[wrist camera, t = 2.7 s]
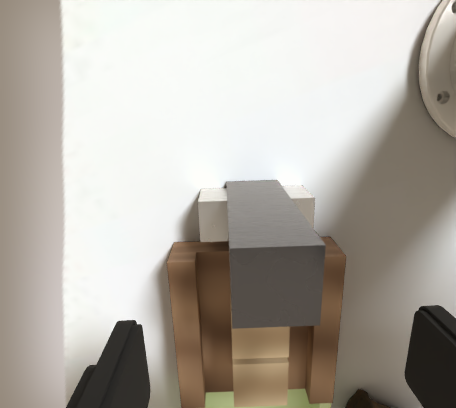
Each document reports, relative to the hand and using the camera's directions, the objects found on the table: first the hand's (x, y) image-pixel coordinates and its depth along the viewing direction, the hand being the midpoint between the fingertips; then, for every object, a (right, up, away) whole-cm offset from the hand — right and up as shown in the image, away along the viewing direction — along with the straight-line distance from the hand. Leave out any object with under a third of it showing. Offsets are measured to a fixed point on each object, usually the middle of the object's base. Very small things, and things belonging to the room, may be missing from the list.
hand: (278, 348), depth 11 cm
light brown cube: (0, -3, +15) cm, 15 cm away
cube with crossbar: (0, +5, +14) cm, 15 cm away
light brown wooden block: (+1, -7, +16) cm, 18 cm away
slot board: (+1, -5, +17) cm, 18 cm away
